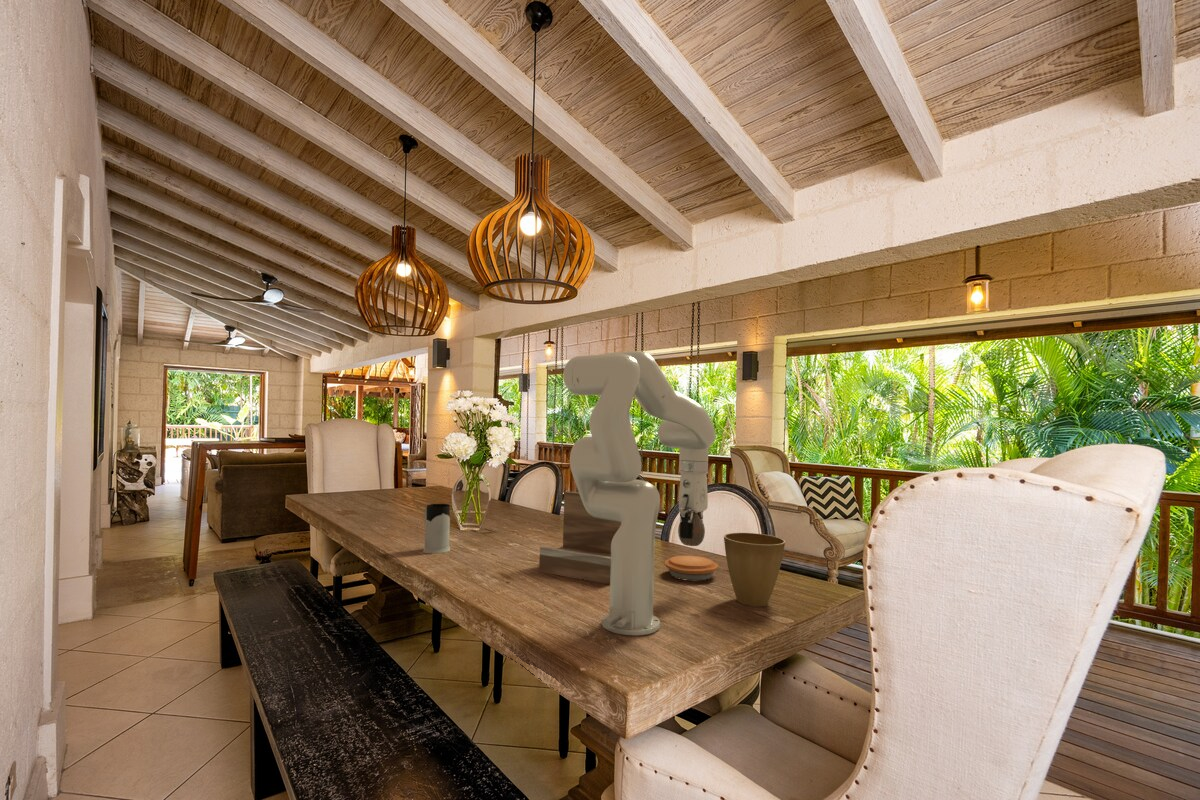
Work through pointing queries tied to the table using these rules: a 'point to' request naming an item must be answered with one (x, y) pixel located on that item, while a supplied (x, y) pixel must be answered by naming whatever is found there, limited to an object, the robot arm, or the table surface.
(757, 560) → the plant pot
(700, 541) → the vase
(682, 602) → the table surface
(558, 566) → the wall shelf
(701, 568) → the pie
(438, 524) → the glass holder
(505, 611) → the table surface
